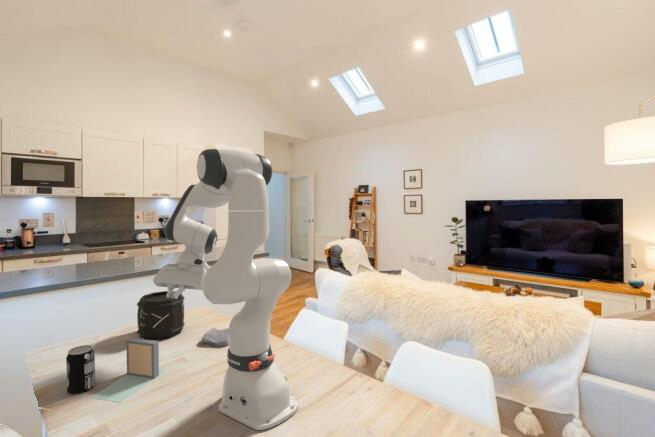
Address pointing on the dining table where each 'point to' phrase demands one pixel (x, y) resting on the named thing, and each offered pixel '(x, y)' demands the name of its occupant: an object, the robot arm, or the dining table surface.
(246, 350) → the robot arm
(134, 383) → the mat
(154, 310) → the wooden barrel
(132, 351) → the slate tile
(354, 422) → the dining table surface
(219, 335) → the stone block
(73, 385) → the beverage can
